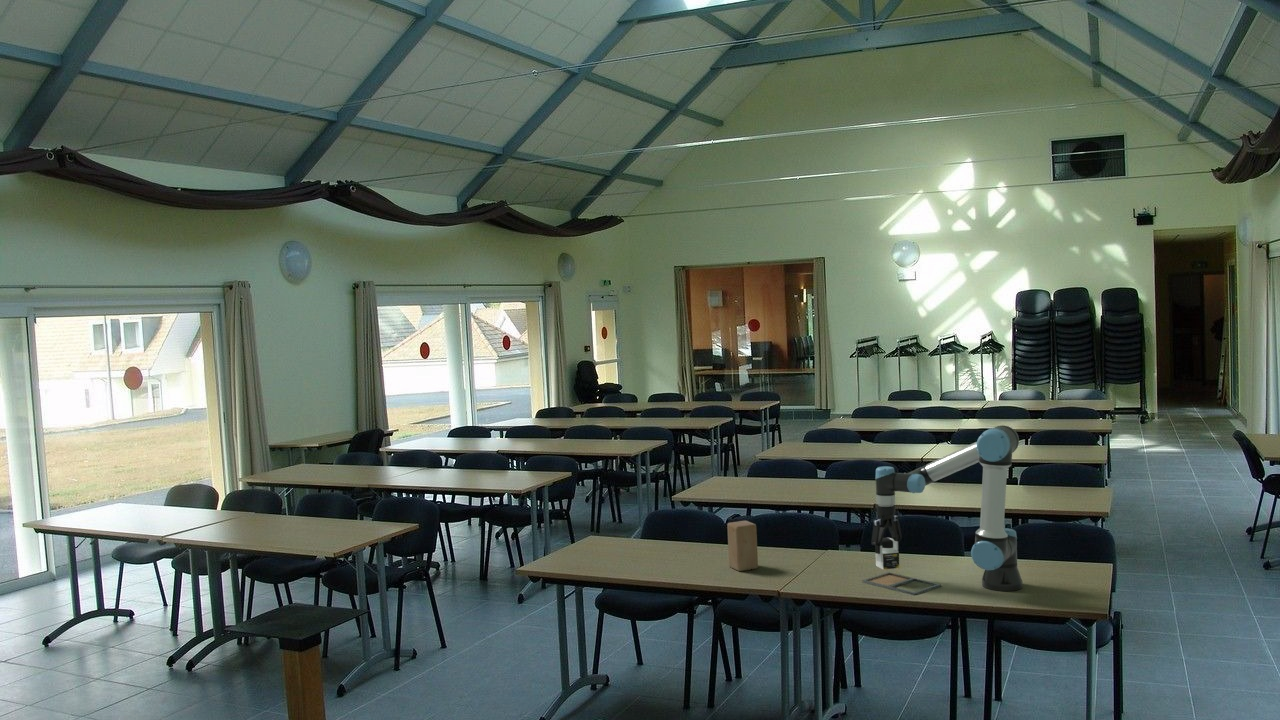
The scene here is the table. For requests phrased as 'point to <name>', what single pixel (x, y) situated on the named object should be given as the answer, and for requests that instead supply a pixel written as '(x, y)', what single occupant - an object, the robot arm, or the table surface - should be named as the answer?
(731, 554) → the wooden block
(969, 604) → the table surface
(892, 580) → the grey divided frame
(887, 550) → the medicine bottle
